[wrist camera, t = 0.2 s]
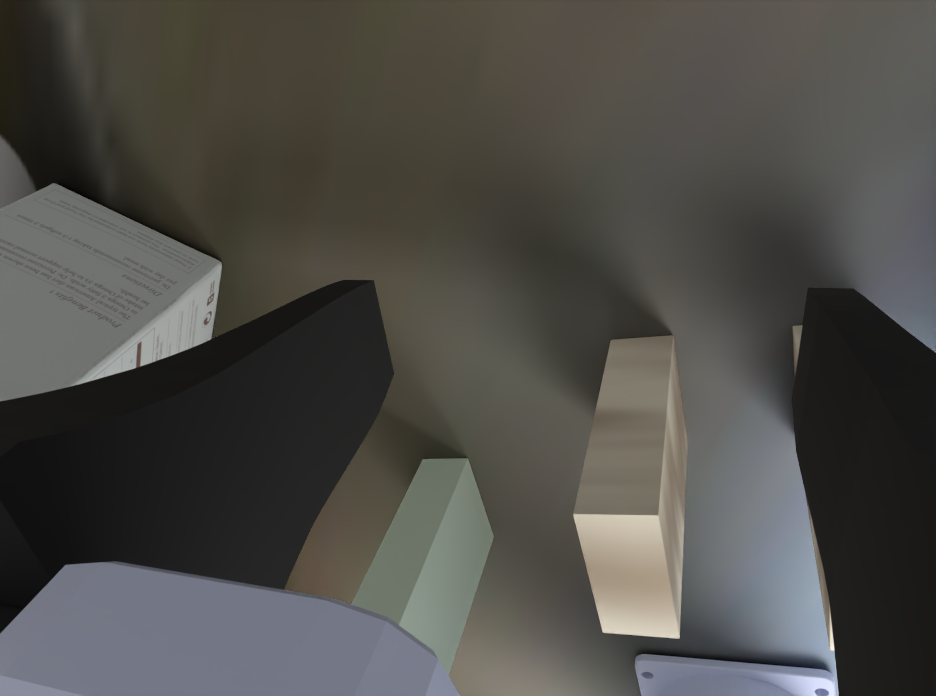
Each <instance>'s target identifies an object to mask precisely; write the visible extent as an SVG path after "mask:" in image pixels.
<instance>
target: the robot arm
mask: <svg viewBox="0 0 936 696" xmlns="http://www.w3.org/2000/svg"><path fill="white" fill-rule="evenodd" d="M393 375H394V372H393V367H392V363H391V358H390V353H389V349H388V344H387V340H386V335H385V330H384V326H383V321H382V316H381V312H380V307H379V302H378V298H377V293H376V288H375V284H374V280H342V281H339V282H336V283H333V284H330V285H327V286H325V287H322V288H320V289H318V290H316V291H313V292H311V293H309V294H307V295H305V296H302V297H300V298H298V299H296V300H294V301H292V302H290V303H288V304H286V305H284V306H282V307H280V308H278V309H276V310H273V311H271V312H269V313H267V314H265V315H263V316H261V317H259V318H257V319H255V320H253V321H251V322H249V323H246V324H244V325H242V326H240V327H238V328H235V329H233V330H231V331H229V332H226V333H224V334H222V335H220V336H218V337H215V338H213V339H211V340H209V341H206V342H204V343H202V344H200V345H197V346H195V347H192V348H190V349H187V350H185V351H182V352H179V353H177V354H174V355H172V356H169V357H166V358H163V359H160V360H158V361H155V362H152V363H149V364H146V365H143V366H140V367H137V368H134V369H131V370H127V371H124V372H120V373H117V374H113V375H110V376H106V377H103V378H99V379H96V380H92V381H89V382H85V383H82V384H78V385H74V386H70V387H66V388H62V389H57V390H53V391H49V392H44V393H40V394H35V395H30V396H25V397H20V398H15V399H10V400H5V401H0V696H460V695H459V693H458V691H457V690H456V688H455V686H454V685H453V683H452V681H451V680H450V678H449V676H448V675H447V673H446V671H445V670H444V668H443V666H442V664H441V663H440V661H439V659H438V658H437V656H436V654H435V653H434V651H433V650H432V649H431V648H429V647H428V646H427V645H425V644H424V643H423V642H421V641H420V640H418V639H417V638H416V637H414V636H413V635H412V634H410V633H409V632H408V631H406V630H405V629H403V628H402V627H401V626H399V625H398V624H397V623H395V622H394V621H393V620H391V619H390V618H388V617H386V616H383V615H381V614H378V613H375V612H372V611H369V610H366V609H363V608H360V607H357V606H354V605H352V604H349V603H346V602H343V601H340V600H337V599H334V598H329V597H323V596H317V595H311V594H305V593H299V592H293V591H288V590H284V588H285V585H286V583H287V580H288V578H289V576H290V573H291V571H292V569H293V567H294V565H295V562H296V560H297V558H298V556H299V554H300V551H301V549H302V547H303V545H304V543H305V541H306V538H307V536H308V534H309V532H310V530H311V528H312V526H313V524H314V522H315V520H316V518H317V517H318V515H319V513H320V511H321V509H322V507H323V506H324V504H325V502H326V501H327V499H328V498H329V496H330V494H331V493H332V491H333V489H334V488H335V486H336V484H337V483H338V481H339V479H340V478H341V476H342V474H343V473H344V471H345V470H346V468H347V466H348V465H349V463H350V461H351V460H352V458H353V456H354V455H355V453H356V451H357V450H358V448H359V446H360V445H361V443H362V441H363V440H364V438H365V436H366V435H367V433H368V431H369V430H370V428H371V426H372V424H373V423H374V421H375V419H376V417H377V415H378V413H379V410H380V408H381V406H382V403H383V401H384V399H385V396H386V394H387V391H388V388H389V386H390V383H391V380H392V378H393ZM792 404H793V418H794V431H795V443H796V452H797V457H798V462H799V466H800V470H801V475H802V479H803V484H804V488H805V493H806V497H807V501H808V505H809V510H810V514H811V518H812V523H813V527H814V531H815V535H816V540H817V544H818V548H819V553H820V557H821V561H822V565H823V570H824V575H825V580H826V586H827V591H828V597H829V604H830V613H831V622H832V631H833V641H834V650H835V659H836V669H837V679H838V689H839V696H936V353H935V352H934V351H932V350H931V349H930V348H928V347H927V346H926V345H924V344H923V343H922V342H920V341H919V340H918V339H916V338H915V337H914V336H913V335H911V334H910V333H909V332H907V331H906V330H905V329H904V328H902V327H901V326H900V325H899V324H897V323H896V322H895V321H894V320H892V319H891V318H890V317H889V316H888V315H886V314H885V313H884V312H883V311H881V310H880V309H879V308H878V307H876V306H875V305H874V304H873V303H872V302H870V301H869V300H868V299H867V298H865V297H864V296H863V295H861V294H860V293H859V292H857V291H856V290H854V289H841V288H808V291H807V298H806V305H805V312H804V319H803V326H802V333H801V340H800V347H799V354H798V361H797V367H796V374H795V381H794V388H793V395H792ZM635 670H636V674H637V679H638V683H639V688H640V692H641V696H835V680H834V676H833V675H832V674H831V673H830V672H828V671H826V670H822V669H812V668H801V667H789V666H778V665H766V664H755V663H743V662H732V661H720V660H709V659H697V658H686V657H674V656H663V655H651V654H641V655H638V656H637V657H636V658H635Z"/></svg>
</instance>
